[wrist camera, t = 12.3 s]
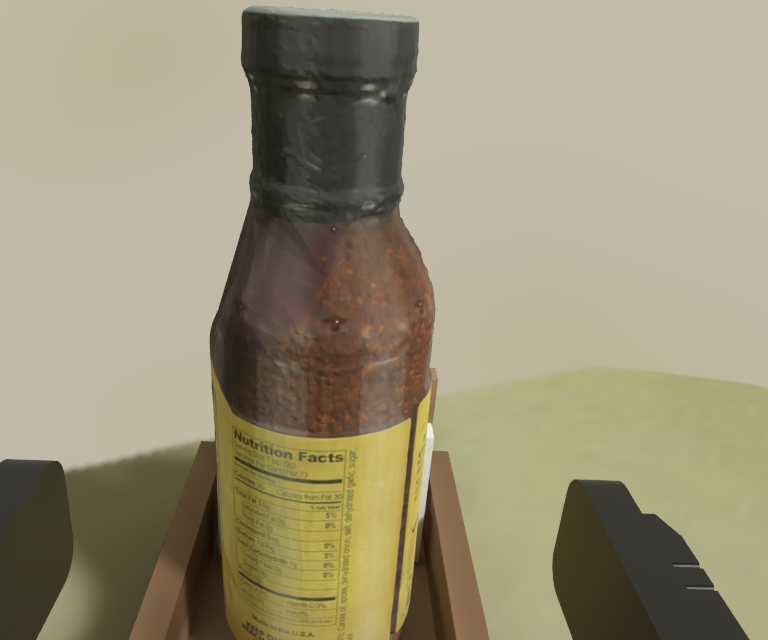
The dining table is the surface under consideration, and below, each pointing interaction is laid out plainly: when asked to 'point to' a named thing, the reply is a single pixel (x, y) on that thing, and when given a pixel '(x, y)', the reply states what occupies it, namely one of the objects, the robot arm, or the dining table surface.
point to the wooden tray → (205, 573)
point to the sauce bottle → (323, 337)
